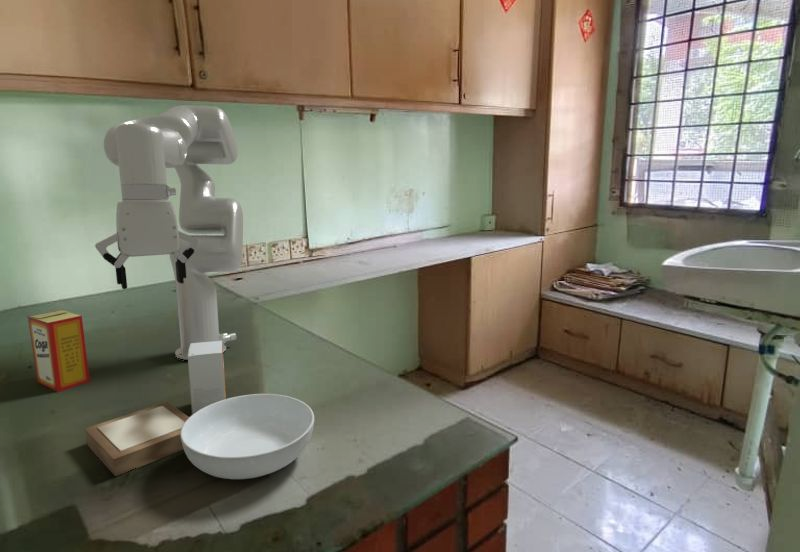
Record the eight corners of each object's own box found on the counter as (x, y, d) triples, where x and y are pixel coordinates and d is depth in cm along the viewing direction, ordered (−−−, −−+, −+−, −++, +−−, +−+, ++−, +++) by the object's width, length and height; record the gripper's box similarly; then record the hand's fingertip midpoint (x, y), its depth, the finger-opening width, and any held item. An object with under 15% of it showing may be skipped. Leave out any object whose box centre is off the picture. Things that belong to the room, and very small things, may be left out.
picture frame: (168, 415, 94) (167, 400, 93) (202, 441, 84) (201, 424, 84) (86, 444, 83) (84, 427, 83) (115, 476, 74) (113, 458, 74)
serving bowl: (182, 514, 66) (179, 469, 65) (184, 440, 85) (181, 404, 84) (329, 479, 74) (328, 438, 73) (300, 419, 93) (299, 385, 92)
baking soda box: (89, 381, 109) (81, 314, 106) (57, 392, 104) (48, 321, 101) (68, 373, 114) (60, 308, 111) (37, 382, 109) (27, 314, 106)
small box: (226, 415, 94) (222, 352, 92) (191, 420, 92) (186, 356, 89) (226, 398, 102) (222, 339, 99) (194, 402, 99) (189, 342, 97)
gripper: (190, 193, 96) (196, 277, 99) (88, 194, 86) (98, 286, 89) (199, 194, 90) (205, 283, 93) (90, 194, 80) (101, 294, 83)
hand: (153, 284), depth 91 cm, fingers open, 9 cm apart
